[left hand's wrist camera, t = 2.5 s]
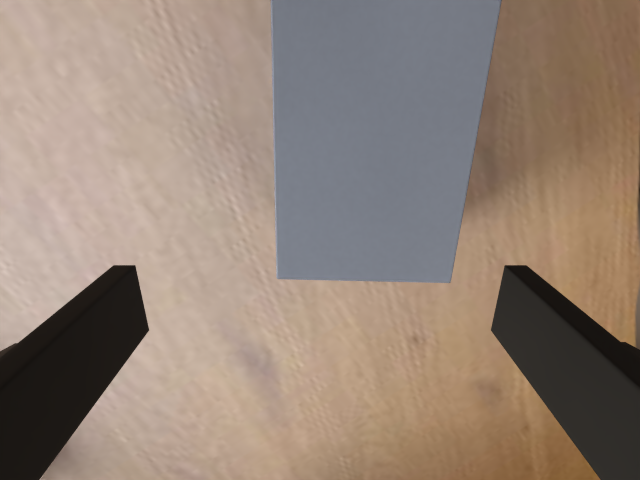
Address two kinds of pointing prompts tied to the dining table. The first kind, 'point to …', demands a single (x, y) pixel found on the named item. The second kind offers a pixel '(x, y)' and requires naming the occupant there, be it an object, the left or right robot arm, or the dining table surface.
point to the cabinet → (375, 133)
